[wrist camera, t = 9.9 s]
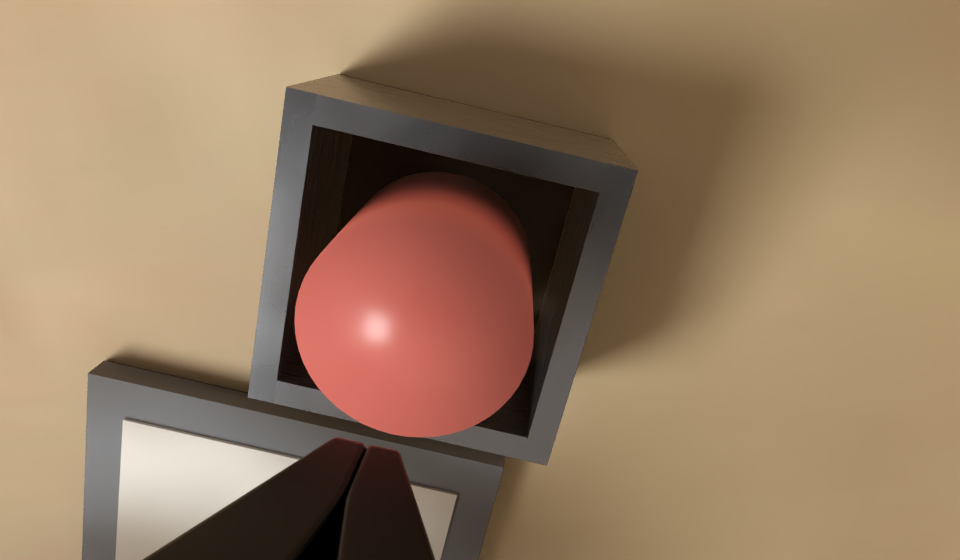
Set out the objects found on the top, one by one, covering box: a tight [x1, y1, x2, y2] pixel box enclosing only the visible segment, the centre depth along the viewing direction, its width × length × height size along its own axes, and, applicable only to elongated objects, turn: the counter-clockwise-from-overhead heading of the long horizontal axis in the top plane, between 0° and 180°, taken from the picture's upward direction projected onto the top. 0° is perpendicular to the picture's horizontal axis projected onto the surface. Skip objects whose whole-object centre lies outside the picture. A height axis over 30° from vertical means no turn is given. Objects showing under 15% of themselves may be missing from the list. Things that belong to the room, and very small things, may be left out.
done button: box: [294, 172, 534, 437], centre depth 15 cm, size 4×4×4 cm
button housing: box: [248, 74, 638, 465], centre depth 17 cm, size 7×7×4 cm
